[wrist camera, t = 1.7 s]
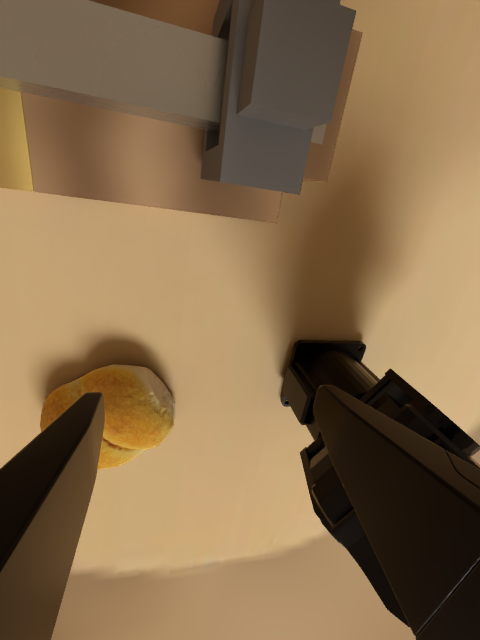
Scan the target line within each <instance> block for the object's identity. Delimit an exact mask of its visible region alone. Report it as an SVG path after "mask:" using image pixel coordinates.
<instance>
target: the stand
mask: <svg viewBox="0 0 480 640" xmlns="http://www.w3.org/2000/svg"><path fill="white" fill-rule="evenodd" d="M89 1H93V2H96V3H100V4H103V5H107V6H110V7H113V8H117V9H120V10H124V11H127V12H131V13H134V14H138V15H141V16H145V17H148V18H152V19H155V20H158V21H162V22H165V23H169V24H172V25H176V26H179V27H183V28H186V29H190V30H193V31H197V32H200V33H203V34H207V35H210V36H212V30H213V20H214V17H215V14H216V10H217V7H218V4H219V1H220V0H89ZM361 37H362V32H359V31H356V30H353V29H352V32H351V36H350V40H349V45H348V49H347V53H346V58H345V62H344V67H343V71H342V75H341V80H340V84H339V88H338V93H337V97H336V101H335V106H334V110H333V115H332V119H331V122H329V123H327V125H326V130H325V134H324V139H323V143H322V144H317V143H312V142H311V143H310V148H309V152H308V157H307V162H306V167H305V171H304V176H303V180H312V181H327V178H328V174H329V170H330V166H331V162H332V157H333V153H334V149H335V145H336V141H337V137H338V133H339V128H340V124H341V120H342V116H343V112H344V108H345V103H346V99H347V95H348V91H349V87H350V83H351V79H352V74H353V70H354V66H355V62H356V58H357V54H358V50H359V45H360V41H361ZM203 141H204V129H200V128H195V127H190V126H185V125H180V124H175V123H170V122H165V121H160V120H155V119H151V118H146V117H141V116H136V115H131V114H126V113H121V112H116V111H111V110H106V109H102V108H97V107H92V106H87V105H82V104H77V103H72V102H67V101H62V100H57V99H53V98H48V97H43V96H38V95H33V94H28V93H23V92H18V91H13V90H8V89H3V88H0V188H8V189H15V190H23V191H31V192H40V193H48V194H56V195H63V196H71V197H79V198H87V199H94V200H102V201H110V202H118V203H125V204H133V205H141V206H148V207H156V208H164V209H172V210H179V211H187V212H195V213H203V214H210V215H218V216H226V217H234V218H241V219H249V220H257V221H265V222H272V223H277V218H278V212H279V207H280V202H281V196H282V192H280V191H273V190H267V189H261V188H254V187H248V186H242V185H235V184H229V183H223V182H217V181H210V180H204V179H200V178H201V165H202V153H203Z"/></svg>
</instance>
